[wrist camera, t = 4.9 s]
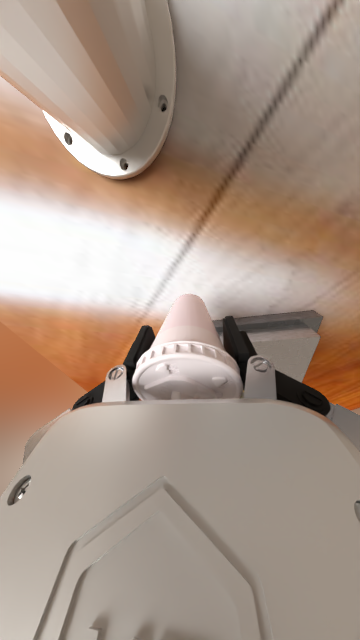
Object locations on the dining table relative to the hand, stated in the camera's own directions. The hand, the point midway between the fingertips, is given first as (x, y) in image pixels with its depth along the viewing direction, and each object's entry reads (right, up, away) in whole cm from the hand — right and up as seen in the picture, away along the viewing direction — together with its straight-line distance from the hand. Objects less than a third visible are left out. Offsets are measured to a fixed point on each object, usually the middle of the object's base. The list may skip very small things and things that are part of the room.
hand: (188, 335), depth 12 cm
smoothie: (0, +3, +4) cm, 5 cm away
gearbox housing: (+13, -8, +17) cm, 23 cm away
